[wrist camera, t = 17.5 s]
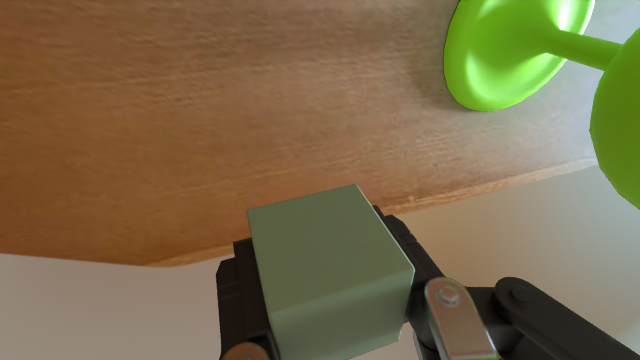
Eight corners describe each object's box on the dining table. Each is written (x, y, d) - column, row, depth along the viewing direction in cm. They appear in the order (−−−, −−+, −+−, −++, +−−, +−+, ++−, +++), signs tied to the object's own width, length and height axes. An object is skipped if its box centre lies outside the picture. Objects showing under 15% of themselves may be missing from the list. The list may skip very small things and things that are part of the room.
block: (353, 254, 14) (400, 341, 11) (263, 280, 13) (286, 384, 10) (356, 182, 11) (417, 268, 8) (245, 209, 10) (268, 316, 7)
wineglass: (558, 90, 36) (782, 180, 22) (435, 128, 34) (602, 256, 20) (625, -93, 26) (1106, -132, 12) (455, -59, 23) (823, -59, 10)
